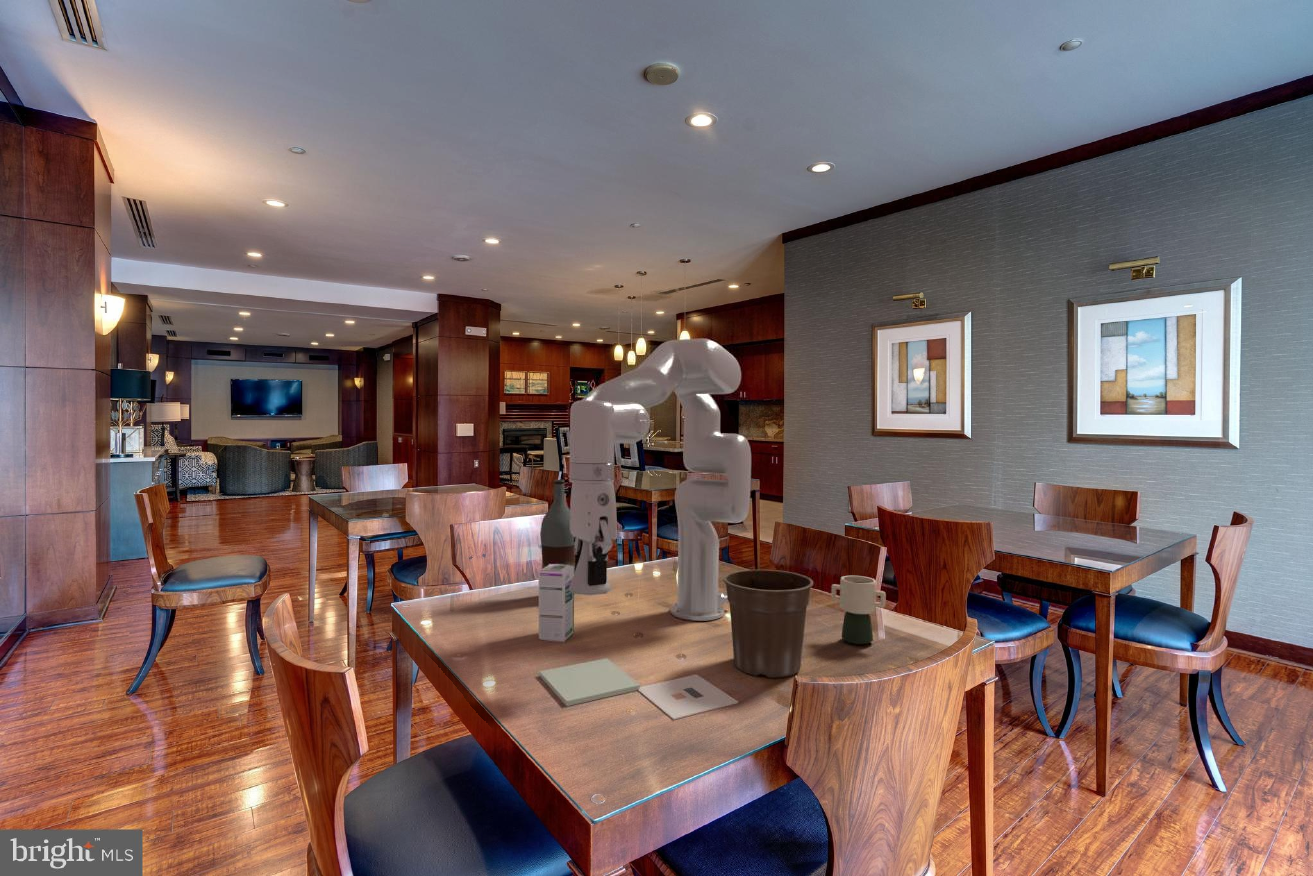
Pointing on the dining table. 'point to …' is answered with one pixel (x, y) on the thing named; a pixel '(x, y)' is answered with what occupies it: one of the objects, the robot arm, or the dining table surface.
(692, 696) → the white flat square
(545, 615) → the syrup box
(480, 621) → the dining table surface
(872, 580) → the character mug
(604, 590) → the flask
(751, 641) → the plant pot
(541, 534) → the bottle
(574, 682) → the coaster
